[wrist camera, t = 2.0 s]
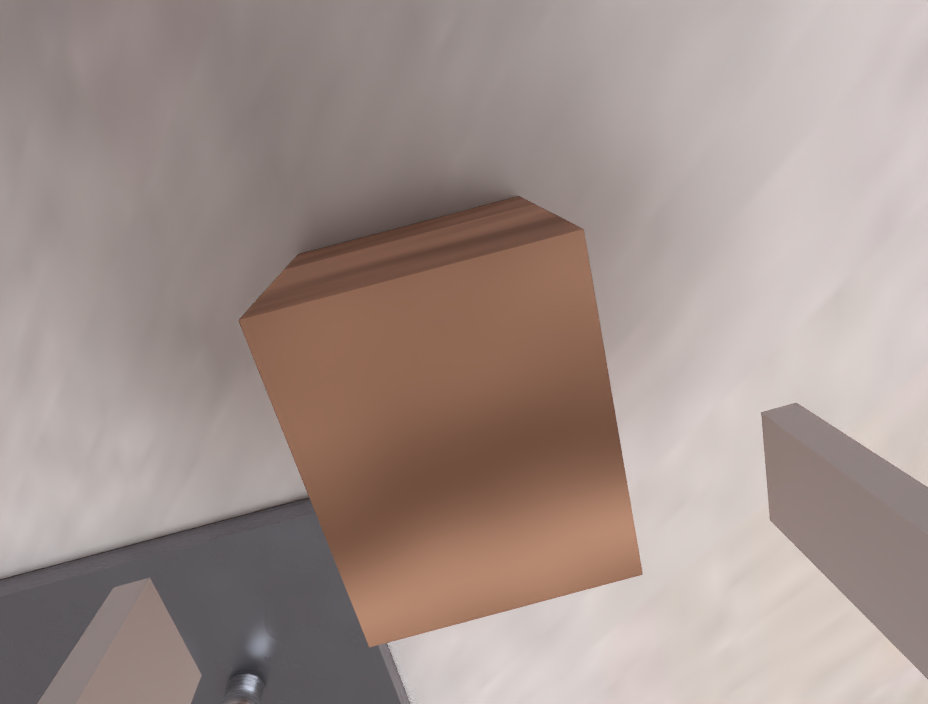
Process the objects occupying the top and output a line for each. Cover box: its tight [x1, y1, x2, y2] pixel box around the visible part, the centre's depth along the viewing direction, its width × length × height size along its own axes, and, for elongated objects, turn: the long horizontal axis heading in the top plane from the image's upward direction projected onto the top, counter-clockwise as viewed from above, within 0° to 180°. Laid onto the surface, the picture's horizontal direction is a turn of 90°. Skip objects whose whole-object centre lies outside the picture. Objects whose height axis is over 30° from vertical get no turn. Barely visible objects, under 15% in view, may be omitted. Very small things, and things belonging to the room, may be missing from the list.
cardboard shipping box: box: [238, 196, 642, 647], centre depth 19 cm, size 10×8×8 cm
